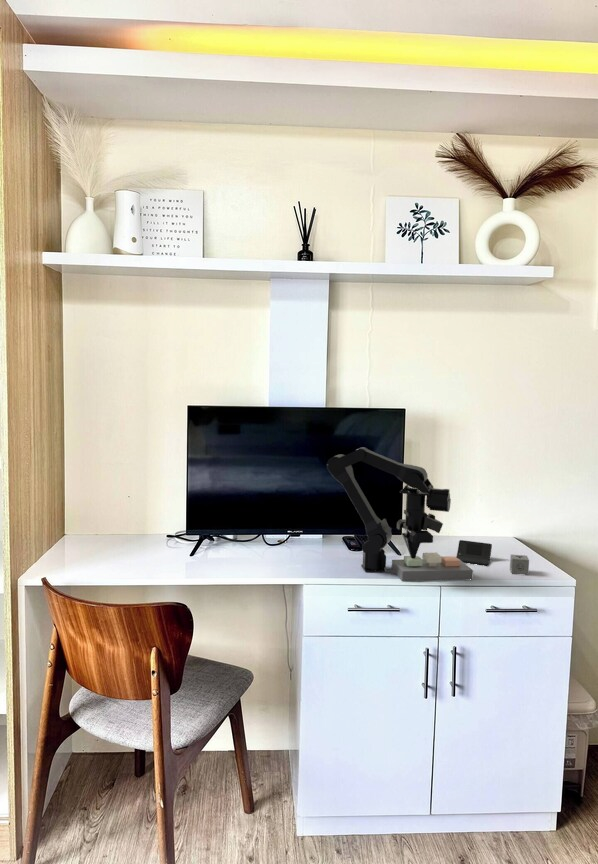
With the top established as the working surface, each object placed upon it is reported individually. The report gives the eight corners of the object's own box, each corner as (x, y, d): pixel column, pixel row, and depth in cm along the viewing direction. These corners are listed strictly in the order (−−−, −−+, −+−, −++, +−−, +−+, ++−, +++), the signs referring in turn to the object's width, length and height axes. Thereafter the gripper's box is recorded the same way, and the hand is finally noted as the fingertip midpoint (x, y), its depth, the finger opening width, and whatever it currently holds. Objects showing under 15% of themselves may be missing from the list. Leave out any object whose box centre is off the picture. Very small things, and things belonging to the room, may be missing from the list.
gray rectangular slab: (402, 581, 208) (402, 571, 208) (391, 568, 220) (392, 559, 220) (472, 579, 211) (472, 570, 211) (458, 567, 223) (458, 558, 223)
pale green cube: (407, 575, 212) (408, 560, 212) (403, 570, 217) (403, 556, 216) (421, 575, 213) (422, 560, 212) (417, 570, 218) (418, 555, 217)
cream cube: (426, 571, 213) (427, 556, 213) (421, 567, 218) (422, 552, 217) (440, 571, 214) (441, 556, 213) (436, 567, 218) (436, 552, 218)
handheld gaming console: (454, 558, 228) (459, 531, 233) (452, 566, 234) (457, 540, 239) (490, 567, 225) (494, 539, 230) (487, 575, 231) (491, 547, 236)
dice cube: (525, 570, 222) (526, 555, 222) (528, 575, 217) (529, 560, 217) (509, 569, 223) (510, 554, 223) (511, 574, 218) (512, 558, 218)
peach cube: (445, 575, 214) (445, 560, 213) (440, 570, 219) (440, 556, 218) (459, 575, 215) (460, 560, 214) (454, 570, 219) (454, 556, 219)
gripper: (451, 515, 205) (448, 566, 206) (430, 502, 223) (428, 549, 225) (414, 515, 203) (412, 567, 205) (397, 502, 222) (395, 549, 223)
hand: (413, 558), depth 214 cm, fingers closed, pressing on pale green cube
